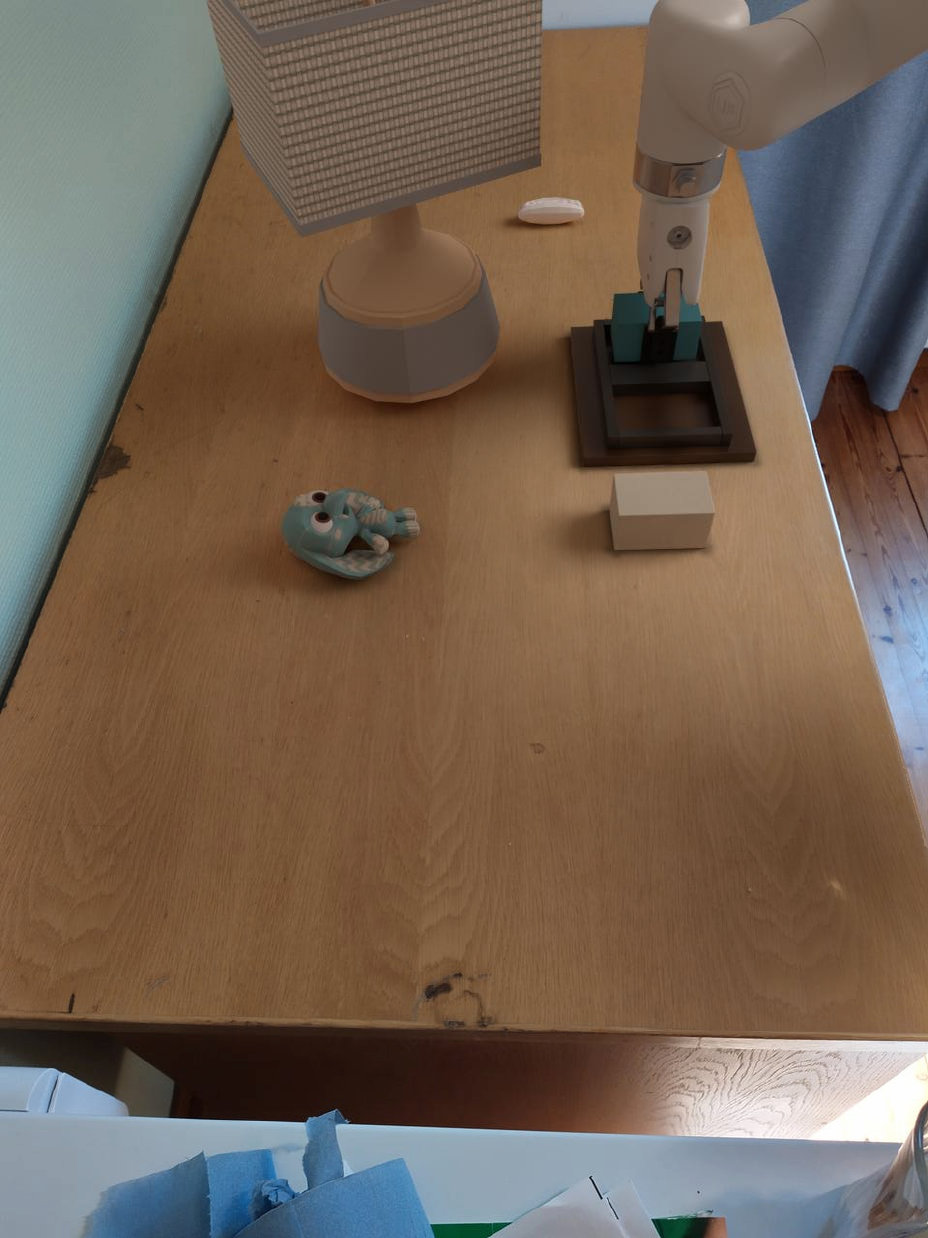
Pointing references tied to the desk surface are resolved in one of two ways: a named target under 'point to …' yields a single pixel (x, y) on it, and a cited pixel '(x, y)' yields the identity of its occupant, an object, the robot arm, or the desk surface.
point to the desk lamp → (388, 163)
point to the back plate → (658, 403)
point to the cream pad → (661, 510)
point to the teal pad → (634, 316)
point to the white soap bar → (551, 211)
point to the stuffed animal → (344, 531)
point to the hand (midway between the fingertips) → (653, 341)
